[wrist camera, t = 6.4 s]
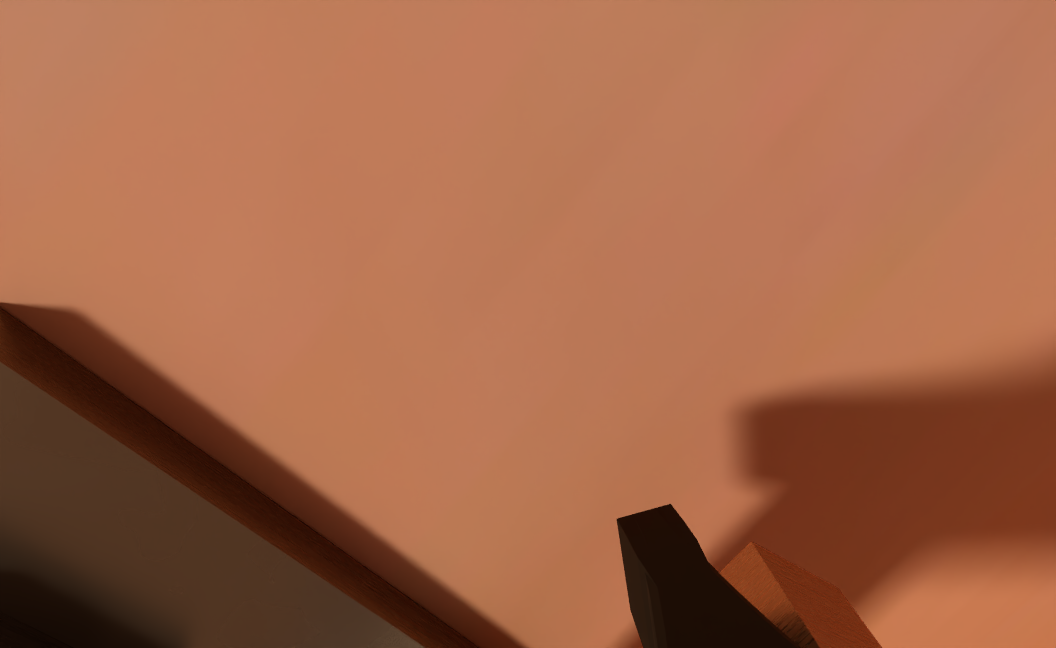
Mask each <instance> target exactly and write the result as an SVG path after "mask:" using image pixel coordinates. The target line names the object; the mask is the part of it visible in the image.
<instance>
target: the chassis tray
mask: <svg viewBox="0 0 1056 648" xmlns="http://www.w3.org/2000/svg"><path fill="white" fill-rule="evenodd" d="M0 648H478V647H477V646H475V645H474V644H473V643H471V642H470V641H468V640H467V639H465V638H464V637H463V636H461V635H460V634H458V633H457V632H456V631H454V630H453V629H451V628H450V627H449V626H447V625H446V624H444V623H443V622H442V621H440V620H439V619H437V618H436V617H435V616H433V615H432V614H430V613H429V612H427V611H426V610H425V609H423V608H422V607H420V606H419V605H418V604H416V603H415V602H413V601H412V600H411V599H409V598H408V597H406V596H405V595H404V594H402V593H401V592H399V591H398V590H397V589H395V588H394V587H392V586H391V585H389V584H388V583H387V582H385V581H384V580H382V579H381V578H380V577H378V576H377V575H375V574H374V573H373V572H371V571H370V570H368V569H367V568H366V567H364V566H363V565H361V564H360V563H359V562H357V561H356V560H354V559H353V558H351V557H350V556H349V555H347V554H346V553H344V552H343V551H342V550H340V549H339V548H337V547H336V546H335V545H333V544H332V543H330V542H329V541H328V540H326V539H325V538H323V537H322V536H321V535H319V534H318V533H316V532H315V531H313V530H312V529H311V528H309V527H308V526H306V525H305V524H304V523H302V522H301V521H299V520H298V519H297V518H295V517H294V516H292V515H291V514H290V513H288V512H287V511H285V510H284V509H283V508H281V507H280V506H278V505H277V504H275V503H274V502H273V501H271V500H270V499H268V498H267V497H266V496H264V495H263V494H261V493H260V492H259V491H257V490H256V489H254V488H253V487H252V486H250V485H249V484H247V483H246V482H245V481H243V480H242V479H240V478H239V477H238V476H236V475H235V474H233V473H232V472H230V471H229V470H228V469H226V468H225V467H223V466H222V465H221V464H219V463H218V462H216V461H215V460H214V459H212V458H211V457H209V456H208V455H207V454H205V453H204V452H202V451H201V450H200V449H198V448H197V447H195V446H194V445H192V444H191V443H190V442H188V441H187V440H185V439H184V438H183V437H181V436H180V435H178V434H177V433H176V432H174V431H173V430H171V429H170V428H169V427H167V426H166V425H164V424H163V423H162V422H160V421H159V420H157V419H156V418H154V417H153V416H152V415H150V414H149V413H147V412H146V411H145V410H143V409H142V408H140V407H139V406H138V405H136V404H135V403H133V402H132V401H131V400H129V399H128V398H126V397H125V396H124V395H122V394H121V393H119V392H118V391H116V390H115V389H114V388H112V387H111V386H109V385H108V384H107V383H105V382H104V381H102V380H101V379H100V378H98V377H97V376H95V375H94V374H93V373H91V372H90V371H88V370H87V369H86V368H84V367H83V366H81V365H80V364H78V363H77V362H76V361H74V360H73V359H71V358H70V357H69V356H67V355H66V354H64V353H63V352H62V351H60V350H59V349H57V348H56V347H55V346H53V345H52V344H50V343H49V342H48V341H46V340H45V339H43V338H42V337H40V336H39V335H38V334H36V333H35V332H33V331H32V330H31V329H29V328H28V327H26V326H25V325H24V324H22V323H21V322H19V321H18V320H17V319H15V318H14V317H12V316H11V315H10V314H8V313H7V312H5V311H4V310H2V309H1V308H0Z"/></svg>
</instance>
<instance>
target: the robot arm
mask: <svg viewBox="0 0 1056 648" xmlns="http://www.w3.org/2000/svg"><path fill="white" fill-rule="evenodd" d="M617 525H618V531H619V538H620V544H621V551H622V557H623V564H624V571H625V577H626V584H627V590H628V597H629V603H630V610H631V613H632V616H633V619H634V622H635V625H636V628H637V630H638V633H639V636H640V639H641V642H642V645H643V648H801V647H800V646H799V645H797V644H796V643H795V642H794V641H793V640H791V639H790V638H789V637H788V636H787V635H786V634H785V633H783V632H782V631H781V630H780V629H779V628H778V627H777V626H775V625H774V624H773V623H772V622H771V621H770V620H769V619H768V618H766V617H765V616H764V615H763V614H762V613H761V612H760V611H759V610H758V609H757V608H756V607H755V606H753V605H752V604H751V603H750V602H749V601H748V600H747V599H746V598H745V597H744V596H743V595H742V594H740V593H739V592H738V591H737V590H736V589H735V588H734V587H733V586H732V585H731V584H730V583H729V582H728V581H727V580H726V579H725V578H724V577H723V576H722V575H721V574H720V573H719V572H718V571H717V570H716V569H715V568H714V567H713V566H712V565H711V564H710V563H709V562H708V561H707V559H706V557H705V555H704V553H703V551H702V549H701V547H700V545H699V543H698V541H697V539H696V538H695V536H694V535H693V533H692V532H691V531H690V529H689V528H688V526H687V525H686V523H685V522H684V521H683V519H682V518H681V517H680V515H679V514H678V513H677V512H676V510H675V509H674V508H673V506H672V505H671V504H669V505H665V506H661V507H658V508H654V509H650V510H647V511H643V512H640V513H636V514H632V515H629V516H625V517H621V518H618V519H617Z"/></svg>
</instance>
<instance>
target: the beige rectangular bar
mask: <svg viewBox="0 0 1056 648" xmlns="http://www.w3.org/2000/svg"><path fill="white" fill-rule="evenodd" d="M719 573H720V574H721V575H722V576H723V577H724V578H725V579H726V580H727V581H728V582H729V583H730V584H731V585H732V586H733V587H734V588H735V589H736V590H737V591H738V592H739V593H740V594H742V595H743V596H744V597H745V598H746V599H747V600H748V601H749V602H750V603H751V604H752V605H753V606H755V607H756V608H757V609H758V610H759V611H760V612H761V613H762V614H763V615H764V616H765V617H766V618H768V619H769V620H770V621H771V622H772V623H773V624H774V625H775V626H777V627H778V628H779V629H780V630H781V631H782V632H783V633H785V634H786V635H787V636H788V637H789V638H790V639H791V640H793V641H794V642H795V643H796V644H797V645H799V646H800V647H801V648H882V647H881V645H880V644H879V643H878V641H877V640H876V639H875V637H874V636H873V634H872V633H871V632H870V630H869V629H868V628H867V626H866V625H865V624H864V622H863V621H862V620H861V618H860V617H859V615H858V614H857V613H856V611H855V610H854V609H853V607H852V606H851V605H850V603H849V602H848V601H847V599H846V598H845V597H844V595H843V594H842V592H841V591H840V590H839V588H838V587H836V586H834V585H832V584H830V583H828V582H826V581H825V580H823V579H821V578H819V577H817V576H815V575H813V574H811V573H810V572H808V571H806V570H804V569H802V568H800V567H798V566H797V565H795V564H793V563H791V562H789V561H787V560H785V559H783V558H782V557H780V556H778V555H776V554H774V553H772V552H770V551H768V550H767V549H765V548H763V547H761V546H759V545H757V544H755V543H754V542H752V541H751V542H750V543H749V544H748V545H747V546H746V547H745V548H744V549H743V550H742V551H741V552H740V553H739V554H738V555H737V556H736V557H735V558H734V559H733V560H732V561H731V562H730V563H729V564H728V565H727V566H726V567H724V568H723V569H722V570H721V571H720V572H719Z"/></svg>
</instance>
